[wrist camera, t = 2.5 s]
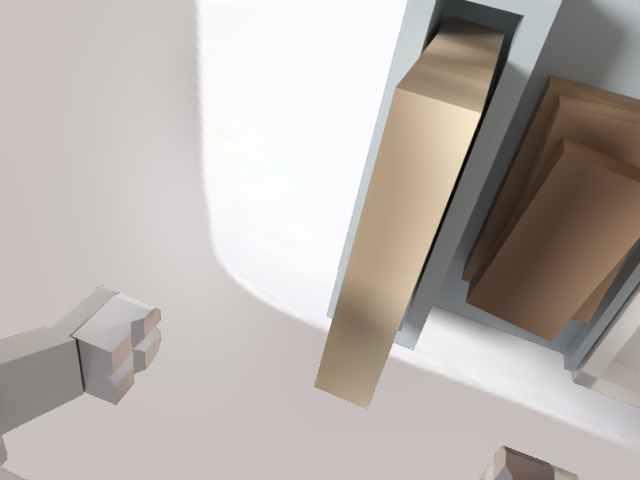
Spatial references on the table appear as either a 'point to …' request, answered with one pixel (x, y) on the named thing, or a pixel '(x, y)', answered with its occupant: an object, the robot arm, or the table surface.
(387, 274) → the maple sheet
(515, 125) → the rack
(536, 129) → the offcut
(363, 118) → the table surface
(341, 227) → the table surface
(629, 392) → the tray
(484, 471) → the robot arm
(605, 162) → the offcut
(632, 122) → the offcut
